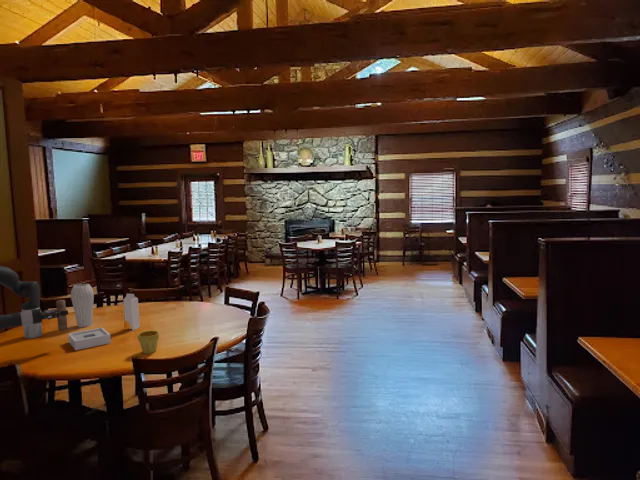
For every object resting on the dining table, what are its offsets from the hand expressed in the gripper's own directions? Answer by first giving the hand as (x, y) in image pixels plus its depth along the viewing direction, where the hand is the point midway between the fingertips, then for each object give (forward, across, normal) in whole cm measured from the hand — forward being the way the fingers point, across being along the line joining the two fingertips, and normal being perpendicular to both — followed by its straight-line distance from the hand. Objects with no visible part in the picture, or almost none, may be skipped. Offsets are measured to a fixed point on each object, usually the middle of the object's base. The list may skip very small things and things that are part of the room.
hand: (67, 311), depth 259 cm
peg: (-3, 0, +10) cm, 10 cm away
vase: (+16, +41, +20) cm, 48 cm away
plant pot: (+31, -38, +20) cm, 53 cm away
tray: (+10, 0, +20) cm, 22 cm away
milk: (+37, +12, +20) cm, 44 cm away
